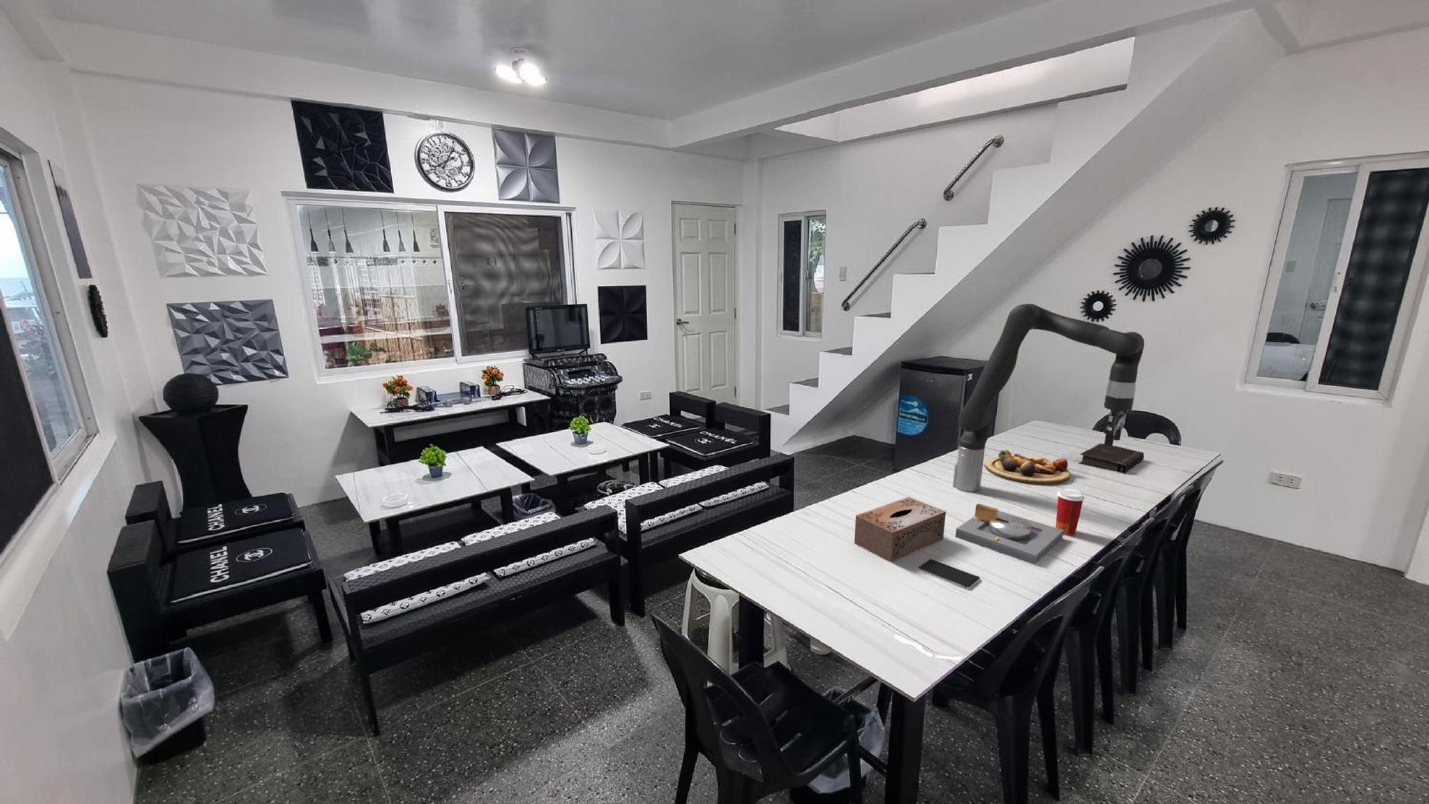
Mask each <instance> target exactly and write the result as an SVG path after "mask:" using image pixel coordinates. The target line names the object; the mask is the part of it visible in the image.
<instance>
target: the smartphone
mask: <svg viewBox="0 0 1429 804" xmlns="http://www.w3.org/2000/svg"><path fill="white" fill-rule="evenodd" d="M917 570H918V571H920V572H922V573H925V574H927V575H930V576H932V577H935V578H938V579H939V580H941V581H942V580H943V581H944V582H946V583H949V584H951V585H954V586H957V587H959V588H961V589H965V590H968V591H970V590H971V589H972V588H973V587H974V586H975V585H977V584H978V583H979V581H981V577H980V576H979V575H976V574H973V573H970V572H967V571H965V570H963V569H959V568H956V567H954V566H951V565H949V564H946V563H945V562H944V563H943V562H941V561H938V560H935V559H931V558H929V559H927V560H926V561H924V562H923V563H922V564H921V565H919V566H918V567H917Z"/></svg>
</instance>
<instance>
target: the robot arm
mask: <svg viewBox="0 0 1429 804" xmlns="http://www.w3.org/2000/svg"><path fill="white" fill-rule="evenodd" d="M1031 330H1038V331H1046V332H1050V333H1053V334H1057V335H1060V336H1062V337H1064V338H1067V339H1069V340H1071V341H1074V342H1077V343H1081V344H1084V345H1087V346H1092V347H1097V348H1099V349H1101V350H1104V351H1106V352H1109V353H1113V354H1115V358H1114V359H1115V360H1114V362H1113V363H1112V365H1111V367H1110V372H1109V378H1108V379H1109V380H1108V382H1107V386H1106V391H1105V397H1104V404H1103V407H1104V408H1105V409H1107V410H1109V411H1110V412H1109V413H1108V414H1106V416H1105V421H1104V422H1105V423H1104V429H1103V433H1104V434H1105V437H1104V443H1103V444H1104V445H1106V446H1112V445H1113V444H1114V441H1118V442H1119V441H1120V440H1121V435H1122V430H1123V429H1124V427H1125V426H1126V417H1127V412H1131V411H1132V410H1133V406H1134V399H1135V394H1136V382H1137V377H1138V376H1137V375H1138V370H1139V364H1140V362H1141V359H1142V355H1143V352H1144V350H1145V349H1144V348H1145V340H1144V339H1145V338H1144V337H1143V335H1141V334H1140V333H1138V332H1134V331H1129V332H1128V331H1126V332H1122V331H1118V330H1113V329H1110V328H1109V327H1108V326H1106V325H1104V324H1103V325H1101V324H1098V323H1095V322H1089V321H1086V320H1082V319H1077V318H1072V317H1068V316H1066V315H1062V314H1059V313H1056V312H1052V311H1050V310H1048V309H1045V308H1043V307H1041V306H1039V305H1036V304H1034V303H1024V304H1018V305H1017V306H1015V307H1014V308H1012V310H1011V311H1010V312H1009V314H1008V316H1007V319H1006V322H1005V324H1004V327H1003V329H1002V332H1001V334H1000V337H999V339H998V341H997V343H996V344H995V347H994V349H993V350H992V352H991V354H990V356H989V358H988V360H987V361H986V363H985V365H984V367H983V369H982V371H981V373H980V376H979V378H978V380H977V383H976V384H975V387H974V389H973V391H972V394H971V396H970V397H969V399H968V400H967V402H966V403H965V405H964V407H963V408H962V409H961V411H960V413H959V415H958V425H959V427H960V428H961V429H962V430H963V433H962V435H961V436H960V438H959V441H958V443H959V444H958V453H957V461H956V463H955V464H954V470H953V471H954V472H953V480H952V481H953V482H952V486H953V487H955V488H956V489H958V490H959V491H964V492H980V490H981V485H982V476H983V468H984V459H985V448H986V444H987V441H988V438H989V434H990V433H989V432H990V426H991V415H990V414H991V413H990V411H989V407H990V405H991V403H992V401H993V400H994V399H995V398H996V397H997V396H998V395H999V393H1000V392H1001V391H1002V390H1003V388H1004V387H1005V386H1006V385H1007V383H1008V382H1009V380H1010V378H1011V376H1012V375H1013V372H1014V369H1015V368H1016V365H1017V362H1018V361H1017V360H1018V355H1019V350H1020V347H1021V345H1022V343H1023V342H1024V339H1025V338H1026V336H1027V335H1028V333H1029V332H1030V331H1031ZM1110 429H1111V430H1110ZM1113 446H1114V445H1113Z"/></svg>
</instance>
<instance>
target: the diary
mask: <svg viewBox="0 0 1429 804" xmlns="http://www.w3.org/2000/svg"><path fill="white" fill-rule="evenodd" d="M1079 455H1080V456H1082V460H1081V461H1080V462H1078V464H1079V465H1082V466H1083V465H1084V466H1088V467H1093V468H1096V469H1101V470H1108V469H1109V471H1113V472H1116V471H1117V472H1119V473H1122V472H1123V471H1124V470H1125V471H1124V473H1123V475H1126V472H1127V473H1128V472H1129V471H1130V470H1132V469H1133V468H1135V467H1136V466H1137V465H1138V464H1140V463H1141V461H1142V460H1143V461H1144V459H1145V454H1144V452H1143V451H1138V450H1133V449H1129V448H1126V447H1121V446H1118V445H1112V446H1106V445H1104V443H1098V444H1096V445H1094V446H1093V447H1091V448H1090V449H1087V450H1084V451H1083V452H1081V453H1080V454H1079ZM1143 461H1142V462H1143ZM1139 462H1140V463H1139ZM1119 469H1120V470H1119Z"/></svg>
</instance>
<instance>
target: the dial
mask: <svg viewBox="0 0 1429 804" xmlns="http://www.w3.org/2000/svg"><path fill="white" fill-rule="evenodd" d="M998 511H999V509H998V508H996V507H995V508H994V507H991V506H988V505H985V504H982V503H977V504H976V505H975V510H974V516H975V517H976V518H979V519H982V520H985V521H989V522H990V523H989V530H990V531H991V532H992V533H993V534H995V535H997V536H999V537H1002V538H1005V539H1010V540H1026V539H1028V538H1030V535H1031V527H1032V526H1031V524H1030V523H1028V522H1027V521H1025V520H1023V519H1021V518H1018V517H1019V516H1018V517H1014V516H1008V515H998Z"/></svg>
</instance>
